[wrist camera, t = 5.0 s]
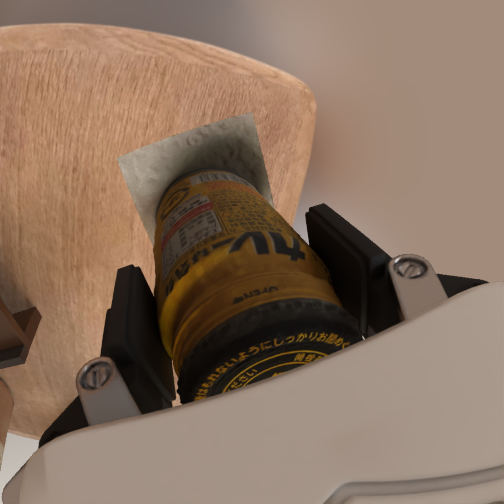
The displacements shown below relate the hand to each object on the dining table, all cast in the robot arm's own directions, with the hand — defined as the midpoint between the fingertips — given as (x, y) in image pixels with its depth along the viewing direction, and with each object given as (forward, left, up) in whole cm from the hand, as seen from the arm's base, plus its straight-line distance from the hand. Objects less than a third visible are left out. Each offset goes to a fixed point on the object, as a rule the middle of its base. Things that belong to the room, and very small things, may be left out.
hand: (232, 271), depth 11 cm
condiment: (0, 0, -7) cm, 7 cm away
